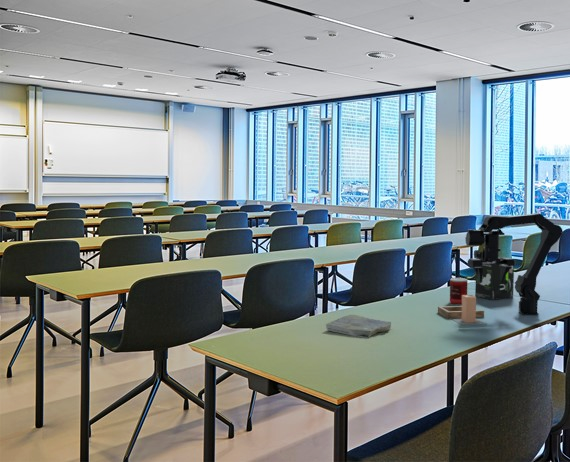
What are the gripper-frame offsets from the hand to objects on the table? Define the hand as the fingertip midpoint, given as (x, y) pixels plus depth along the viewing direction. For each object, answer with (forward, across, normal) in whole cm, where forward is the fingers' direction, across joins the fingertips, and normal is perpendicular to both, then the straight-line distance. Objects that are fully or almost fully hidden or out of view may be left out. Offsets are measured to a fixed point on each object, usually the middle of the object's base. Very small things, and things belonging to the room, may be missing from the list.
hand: (490, 282), depth 251 cm
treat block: (+12, +16, +14) cm, 25 cm away
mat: (+13, +16, +14) cm, 25 cm away
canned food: (+13, +4, -22) cm, 26 cm away
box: (+13, -19, -32) cm, 39 cm away
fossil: (+14, +61, +18) cm, 65 cm away
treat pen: (+13, +13, -3) cm, 19 cm away
